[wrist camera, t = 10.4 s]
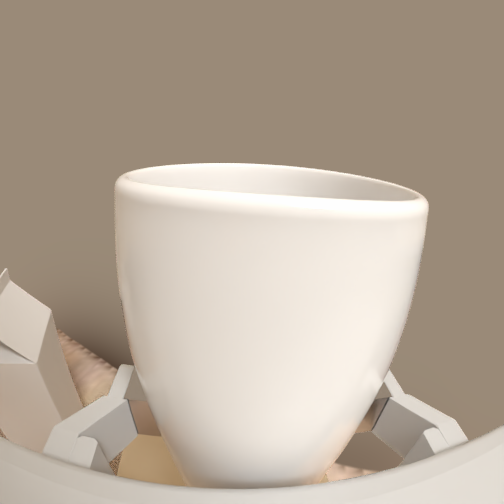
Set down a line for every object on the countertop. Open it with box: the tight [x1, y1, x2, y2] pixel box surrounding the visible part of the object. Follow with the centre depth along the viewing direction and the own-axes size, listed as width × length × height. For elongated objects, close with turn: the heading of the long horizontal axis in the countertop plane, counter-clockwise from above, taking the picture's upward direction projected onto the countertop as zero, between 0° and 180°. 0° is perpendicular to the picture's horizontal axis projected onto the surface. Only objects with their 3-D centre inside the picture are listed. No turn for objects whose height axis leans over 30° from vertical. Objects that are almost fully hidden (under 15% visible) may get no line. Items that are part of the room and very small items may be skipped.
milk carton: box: [0, 268, 83, 454], centre depth 19 cm, size 7×7×19 cm
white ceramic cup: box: [115, 163, 429, 489], centre depth 9 cm, size 7×7×15 cm
